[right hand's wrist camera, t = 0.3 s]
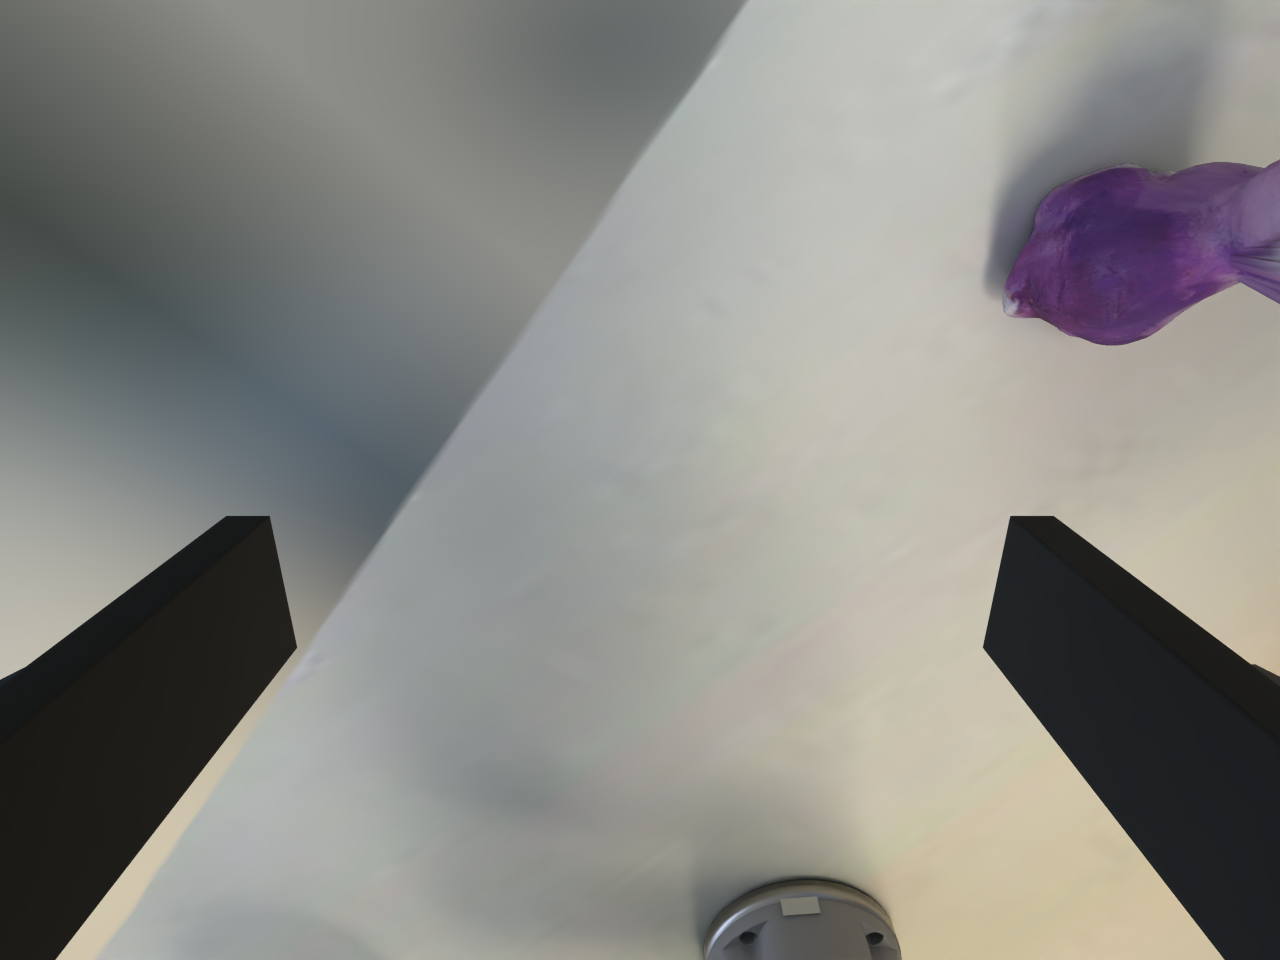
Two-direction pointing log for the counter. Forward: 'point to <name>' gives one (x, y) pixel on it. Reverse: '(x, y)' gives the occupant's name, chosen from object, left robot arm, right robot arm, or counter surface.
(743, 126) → the counter surface
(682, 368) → the counter surface
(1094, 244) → the figurine
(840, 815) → the counter surface
